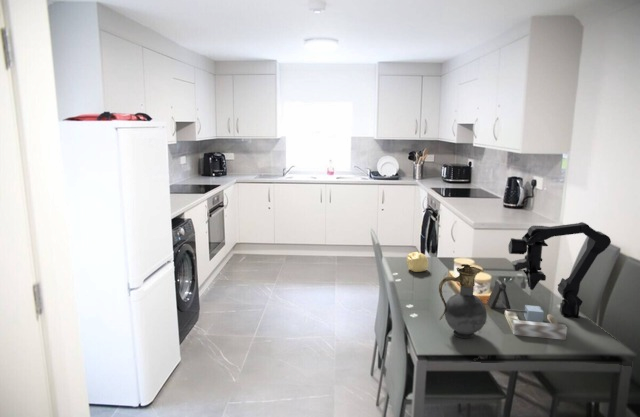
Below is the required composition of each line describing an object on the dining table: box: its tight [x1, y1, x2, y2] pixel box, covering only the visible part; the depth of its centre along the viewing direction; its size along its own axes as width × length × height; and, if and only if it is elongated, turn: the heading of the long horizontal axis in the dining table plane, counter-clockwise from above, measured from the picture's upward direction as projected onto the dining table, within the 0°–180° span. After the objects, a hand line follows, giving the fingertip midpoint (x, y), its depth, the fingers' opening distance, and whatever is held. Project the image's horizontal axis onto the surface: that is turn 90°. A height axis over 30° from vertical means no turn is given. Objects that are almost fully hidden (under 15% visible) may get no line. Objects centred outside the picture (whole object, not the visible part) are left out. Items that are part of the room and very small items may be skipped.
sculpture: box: [406, 251, 429, 273], centre depth 247 cm, size 11×12×11 cm
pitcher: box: [438, 263, 487, 339], centre depth 170 cm, size 11×19×30 cm, turn 93°
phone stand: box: [486, 278, 512, 310], centre depth 198 cm, size 9×6×12 cm, turn 85°
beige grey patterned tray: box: [504, 309, 568, 341], centre depth 179 cm, size 19×19×5 cm
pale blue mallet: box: [505, 304, 545, 323], centre depth 186 cm, size 14×6×5 cm, turn 77°
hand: (530, 288), depth 192 cm, fingers open, 3 cm apart
